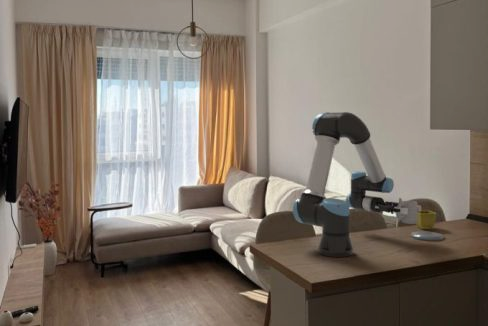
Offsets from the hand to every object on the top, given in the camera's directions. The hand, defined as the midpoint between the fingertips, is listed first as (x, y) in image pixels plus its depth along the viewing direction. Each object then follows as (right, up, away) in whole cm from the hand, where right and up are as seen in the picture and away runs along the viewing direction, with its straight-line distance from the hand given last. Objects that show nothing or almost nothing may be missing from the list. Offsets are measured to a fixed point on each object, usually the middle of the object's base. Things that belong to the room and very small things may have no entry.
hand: (414, 210), depth 216 cm
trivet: (+11, -15, +13) cm, 23 cm away
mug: (-2, -6, +4) cm, 8 cm away
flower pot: (+17, -13, +32) cm, 38 cm away
